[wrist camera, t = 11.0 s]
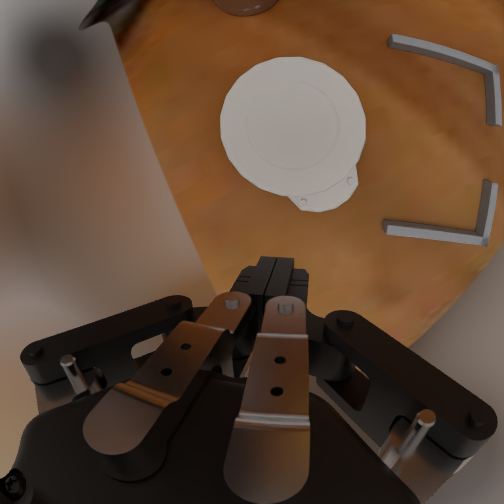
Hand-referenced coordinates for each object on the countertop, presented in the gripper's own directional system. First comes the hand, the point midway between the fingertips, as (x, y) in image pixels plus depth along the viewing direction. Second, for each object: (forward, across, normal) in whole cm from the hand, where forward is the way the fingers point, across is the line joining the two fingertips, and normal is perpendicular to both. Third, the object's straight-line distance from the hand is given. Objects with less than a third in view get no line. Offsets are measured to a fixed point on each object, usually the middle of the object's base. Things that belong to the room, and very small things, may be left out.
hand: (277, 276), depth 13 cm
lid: (+25, 0, -7) cm, 26 cm away
